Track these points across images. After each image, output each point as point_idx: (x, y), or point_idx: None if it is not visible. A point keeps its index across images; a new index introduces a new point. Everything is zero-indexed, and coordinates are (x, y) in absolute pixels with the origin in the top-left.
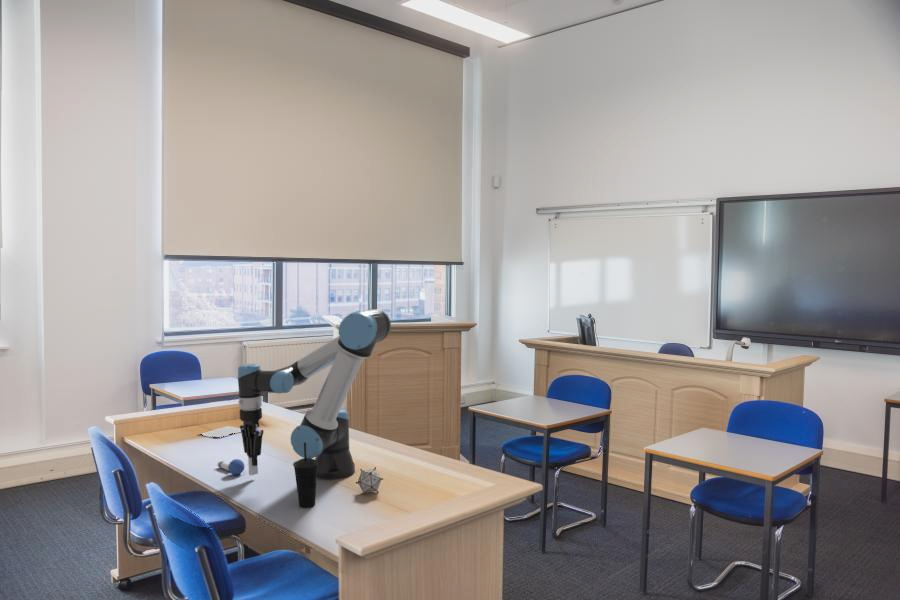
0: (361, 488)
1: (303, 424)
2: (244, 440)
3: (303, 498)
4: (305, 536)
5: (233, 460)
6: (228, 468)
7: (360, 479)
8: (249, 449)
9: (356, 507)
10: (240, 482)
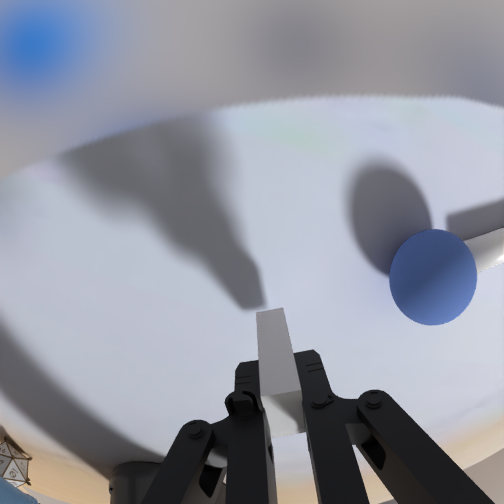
0: (6, 447)
1: None
2: (422, 487)
3: None
4: None
5: (462, 278)
6: (473, 242)
7: None
8: (310, 449)
9: None
10: (267, 240)
